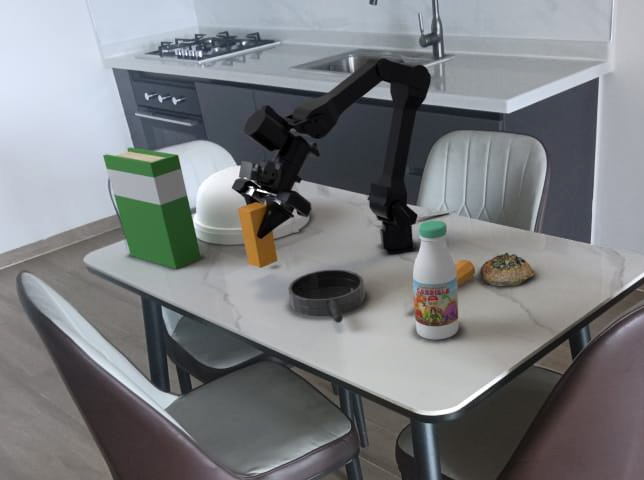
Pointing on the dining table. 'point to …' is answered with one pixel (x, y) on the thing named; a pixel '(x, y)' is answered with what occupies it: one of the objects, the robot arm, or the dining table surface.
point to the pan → (326, 292)
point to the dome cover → (229, 211)
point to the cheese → (256, 248)
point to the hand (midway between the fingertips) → (252, 235)
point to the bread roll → (506, 270)
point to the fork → (429, 215)
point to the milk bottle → (435, 284)
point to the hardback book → (153, 206)
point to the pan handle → (335, 310)
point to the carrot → (464, 271)
